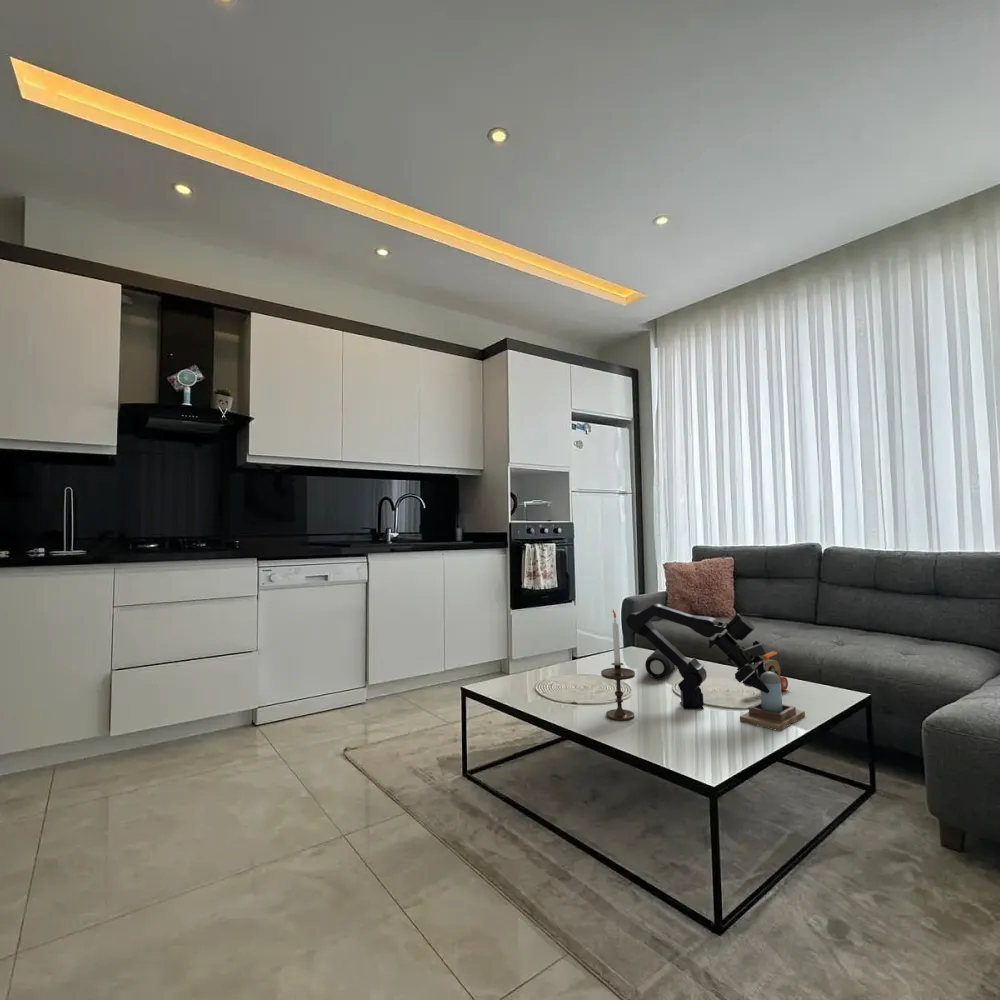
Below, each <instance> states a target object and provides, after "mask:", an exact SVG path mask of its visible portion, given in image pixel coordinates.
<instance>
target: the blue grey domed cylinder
mask: <svg viewBox="0 0 1000 1000" xmlns="http://www.w3.org/2000/svg"><path fill="white" fill-rule="evenodd" d="M760 679H761V680H762V681H763V683H764V684H765V685H766V687H767V688H768V689H769V691H770V692H769V693H765V692H763V691H760V690H759V691H760V692H759V693H760V702H761V709H763V710H767V711H771V712H776V713H781V712H783V708H782V704H783V695H782V690H781V680H780V678H779V676H778V675H777V674H775V673H774V672H770V671H768V672H764V673H763V674H762V675H761V676H760Z"/></svg>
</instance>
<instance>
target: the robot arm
mask: <svg viewBox="0 0 1000 1000" xmlns="http://www.w3.org/2000/svg"><path fill="white" fill-rule="evenodd" d="M655 617H658V618H661V619H663V620H666V621H670V622H672V623H676V624H678V625H681V626H685V627H688V628H690V629H691V630H692V631H694V632H695V633H697V634H699V635H700V636H702V637H704V638H710V639H708V648H709V649H712V648H713V647H715V646H716V648H718V649H719V651H721V653H722V654H723V655H725V657H726V660H727V662H729V663H730V662H732V663H733V664H734V666H735V667H736V668H737V669H736V670H737V671H736V672H735V673H734V678H735V680H736V681H737V682H738V683H740V684H743V685H744V684H747V685H749V686H751V687H750V688H754V689H757V690H759V691H763V692H765V693H769V692H770V691H769V689H768V688H767V687H766V685H765V684H764V683H763V681H762V680H761V679H760V676H761V675H762V674H763V673H764V672H767V671H766V669H765V660H763V659H764V657H763V656H762V655H765V654H767V653H769V651H768V650H767V648H766V644H765V643H764V642H763V641H762V642H761V641H760V640H759V639H757V640H754V641H753V642H752V645H751V646H748V647H746V646H745V645H740V643H738V642H737V641H741V642H742V641H744V639H745V638H747V637H748V636H750V634H751V633H752V632H754V630H755V629H756V628H755V626H754V625H753V623H752V622H751V621H750V620H749V619H746V618H745V617H744V616H742V615H741V614H739V613H736V614H735V615H734V617H733V618H732V619H731V620H730V621H729V622H728V623H727V622H723V621H719V620H718V619H717V618H715V617H712V616H706V615H704V616H703V615H694V614H690V613H687V612H684V611H681V610H677V609H674V608H671V607H668V606H665V605H663V604H661V603H654V604H652V605H649V607H648V608H646V609H644V610H642V611H636V612H632V613H630V614H629V615H627V617H626V619H625V622H626V627H627V628H628V629H630V630H631V631H633V632H634V633H635V634H638V635H640V636H642V637H643V638H645V639H646V640H647V641H649V642H650V643H651V644H652V645H653V646H654V647H655V648H656V649H658V650H659V651H660V652H661V653H662V654H663V655H664V656H666V657H667V658H668V659H669V660H670V661H671V662H672V663H673V664H674V665H675V667H676V668H677V670H678V672H679V674H680V676H681V677H682V679H683V680H681V681H680V682H679V683H677V686H678V688H679V690H680V691H679V692H680V701H679V704H680V705H681V707H682V709H683V710H704V693H703V692H702V689H701V687H700V686H702V683H704V682H705V681H706V679H707V677H708V676H707V671H706V669H705V668H704V667H705V665H704V664H701V663H700V662H699V661H698V660H697V658H696V657H693V658H692V659H690V658H688V657H686V656H685V655H684V654H683V653H681V652H680V651H679V650H678V648H677V647H676V646H675V647H676V648H677V649H676V648H675V647H674V645H673V644H671V642H670V641H669V640H667V638H665V636H663V635H662V633H660V632H659V631H658V630H656V629H655V627H654V625H653V623H652V621H651V619H653V618H655ZM723 632H724V633H723ZM721 633H723V634H721ZM716 634H717V635H716ZM714 636H715V637H714ZM712 637H713V638H712ZM762 660H763V661H762ZM760 661H762V662H760ZM744 679H745V680H744ZM743 680H744V681H743Z"/></svg>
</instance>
